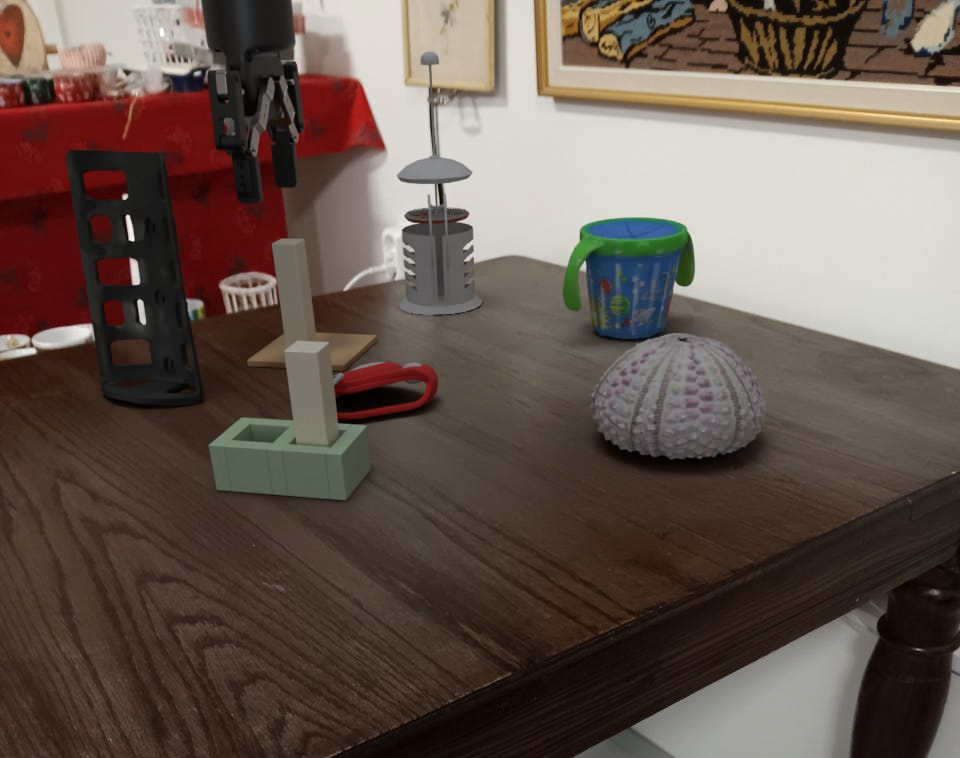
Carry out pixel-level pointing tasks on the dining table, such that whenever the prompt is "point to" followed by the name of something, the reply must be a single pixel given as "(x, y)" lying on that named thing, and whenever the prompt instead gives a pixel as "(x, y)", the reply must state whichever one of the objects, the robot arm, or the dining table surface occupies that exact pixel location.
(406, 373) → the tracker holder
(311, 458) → the peg rack
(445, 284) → the french press
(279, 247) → the peg back
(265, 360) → the coaster
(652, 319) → the snack cup
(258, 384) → the dining table surface
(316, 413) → the peg front
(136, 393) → the holder
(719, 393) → the sea urchin shell
